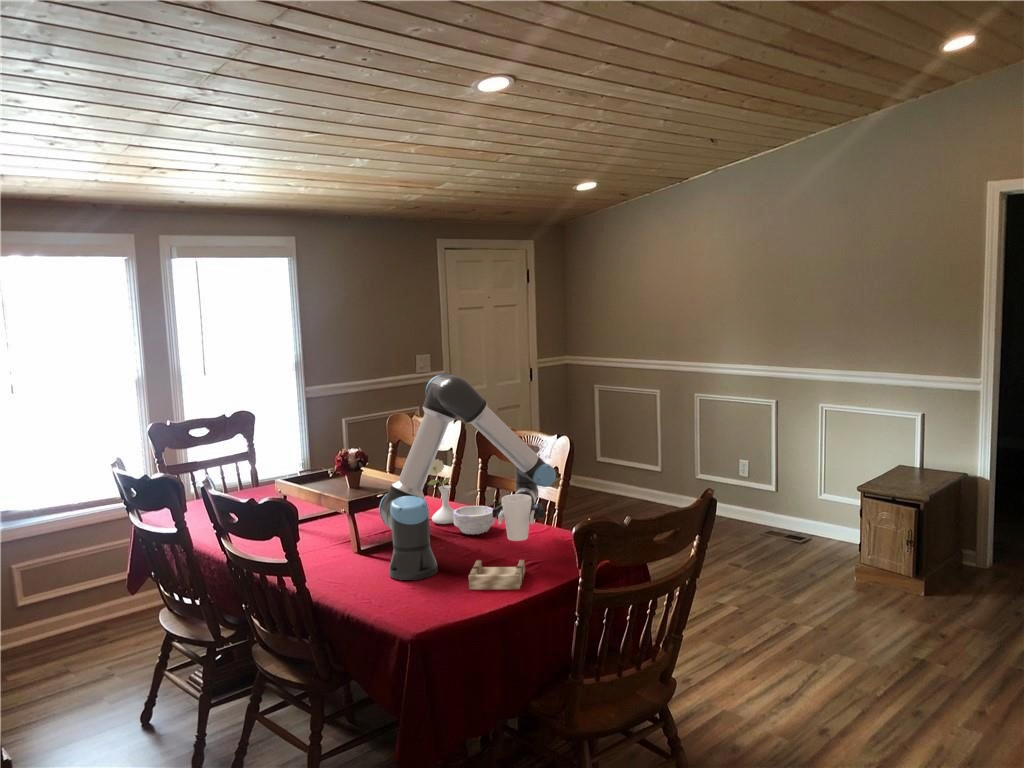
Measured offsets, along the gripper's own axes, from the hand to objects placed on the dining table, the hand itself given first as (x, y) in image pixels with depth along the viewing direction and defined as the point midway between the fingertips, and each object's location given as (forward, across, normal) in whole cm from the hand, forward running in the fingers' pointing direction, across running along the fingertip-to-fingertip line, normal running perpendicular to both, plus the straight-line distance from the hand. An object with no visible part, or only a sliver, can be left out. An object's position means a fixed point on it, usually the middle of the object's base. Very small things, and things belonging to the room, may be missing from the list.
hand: (515, 520), depth 248 cm
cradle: (+8, +5, -16) cm, 19 cm away
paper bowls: (-43, +21, -16) cm, 50 cm away
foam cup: (-4, 0, -7) cm, 8 cm away
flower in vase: (-55, +35, -16) cm, 67 cm away
